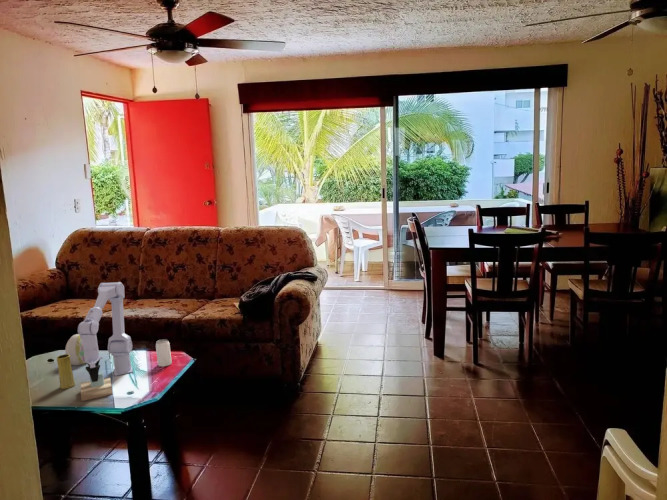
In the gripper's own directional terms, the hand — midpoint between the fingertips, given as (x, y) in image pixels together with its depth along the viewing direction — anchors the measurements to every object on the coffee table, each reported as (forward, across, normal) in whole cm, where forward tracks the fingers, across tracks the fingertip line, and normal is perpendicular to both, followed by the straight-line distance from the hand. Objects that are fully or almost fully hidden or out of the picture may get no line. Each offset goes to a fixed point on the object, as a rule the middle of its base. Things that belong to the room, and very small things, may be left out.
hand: (95, 378), depth 227 cm
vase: (+7, +16, +12) cm, 21 cm away
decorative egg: (+7, +48, +8) cm, 49 cm away
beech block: (+7, 0, 0) cm, 7 cm away
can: (+7, +18, -31) cm, 36 cm away
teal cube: (+3, 0, -1) cm, 3 cm away
